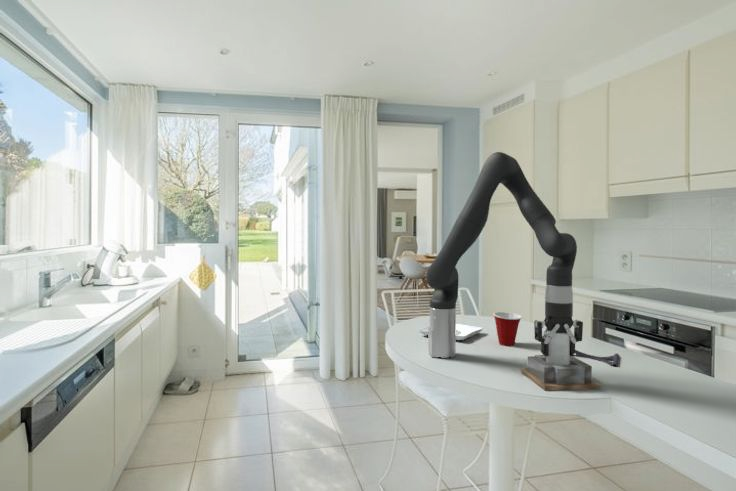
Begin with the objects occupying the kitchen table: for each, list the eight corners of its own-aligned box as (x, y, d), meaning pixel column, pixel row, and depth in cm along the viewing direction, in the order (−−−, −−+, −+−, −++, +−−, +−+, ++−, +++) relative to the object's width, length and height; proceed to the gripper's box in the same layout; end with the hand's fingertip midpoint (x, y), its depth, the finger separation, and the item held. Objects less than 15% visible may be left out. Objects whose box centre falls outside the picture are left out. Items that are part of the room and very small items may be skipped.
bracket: (573, 352, 162) (573, 345, 162) (619, 358, 154) (619, 350, 154) (568, 362, 150) (568, 354, 150) (617, 369, 142) (617, 361, 142)
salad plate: (439, 328, 202) (439, 321, 202) (484, 334, 190) (484, 326, 190) (417, 337, 185) (417, 329, 185) (464, 344, 173) (464, 336, 172)
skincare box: (569, 371, 130) (570, 331, 129) (567, 375, 126) (568, 334, 126) (548, 368, 133) (548, 329, 133) (545, 372, 130) (546, 332, 129)
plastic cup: (512, 349, 164) (512, 317, 164) (487, 344, 172) (487, 313, 172) (526, 344, 171) (527, 314, 171) (502, 339, 179) (502, 310, 179)
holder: (544, 390, 121) (545, 370, 121) (520, 372, 137) (521, 354, 137) (600, 389, 122) (600, 368, 122) (569, 371, 138) (570, 353, 138)
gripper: (541, 302, 125) (540, 359, 125) (589, 302, 126) (588, 358, 126) (529, 298, 132) (529, 352, 133) (575, 298, 133) (574, 351, 134)
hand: (558, 355), depth 130 cm, fingers closed on skincare box, 7 cm apart
